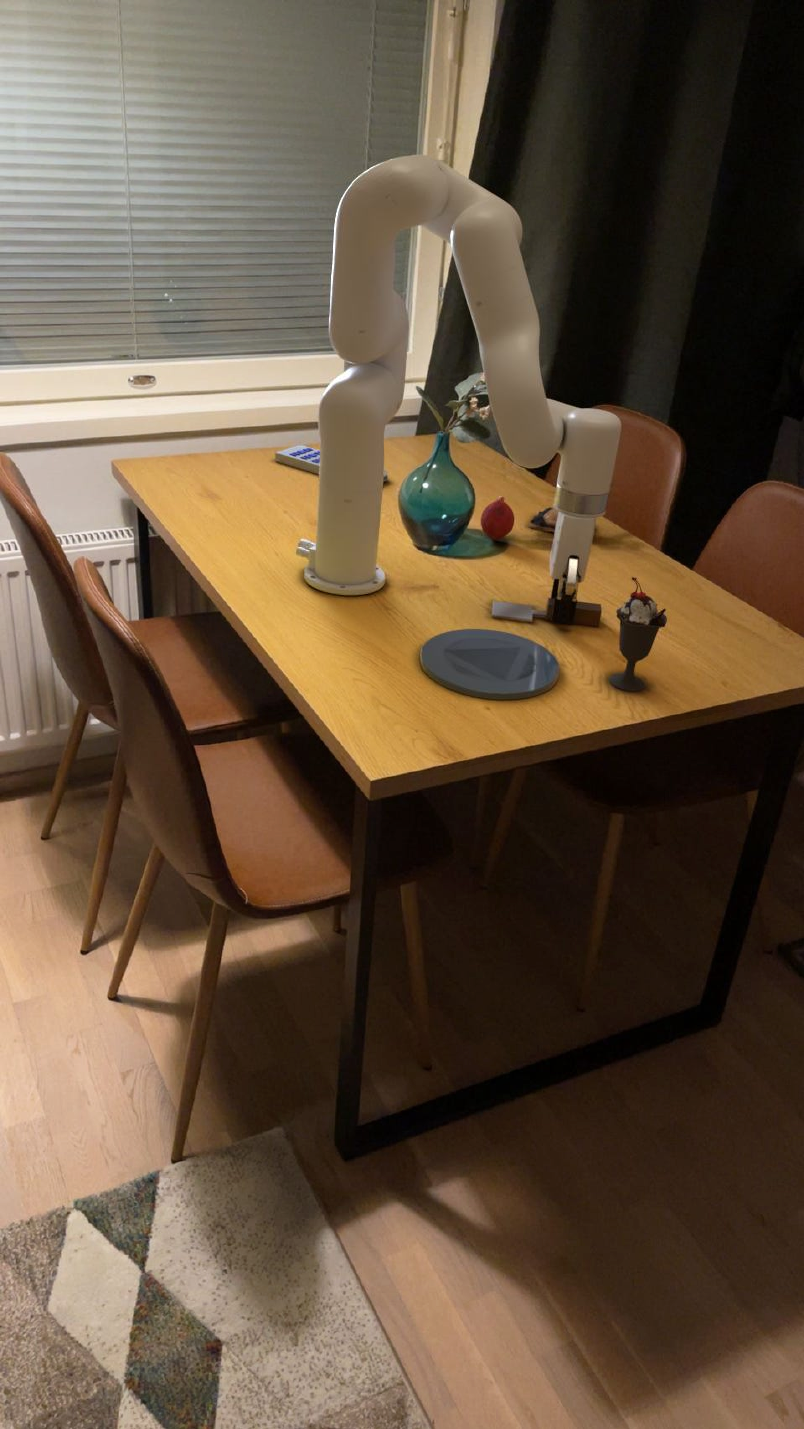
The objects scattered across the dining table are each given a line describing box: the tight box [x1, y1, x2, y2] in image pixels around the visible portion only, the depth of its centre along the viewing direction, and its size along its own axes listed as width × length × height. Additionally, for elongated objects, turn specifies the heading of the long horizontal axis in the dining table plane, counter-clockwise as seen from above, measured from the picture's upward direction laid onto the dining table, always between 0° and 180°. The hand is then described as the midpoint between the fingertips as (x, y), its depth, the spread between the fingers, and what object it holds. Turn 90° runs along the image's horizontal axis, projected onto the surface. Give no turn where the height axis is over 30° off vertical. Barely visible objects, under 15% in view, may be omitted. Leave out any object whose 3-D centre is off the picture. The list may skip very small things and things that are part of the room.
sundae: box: [608, 576, 668, 692], centre depth 149 cm, size 7×7×15 cm
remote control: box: [274, 444, 389, 483], centre depth 220 cm, size 8×23×2 cm, turn 56°
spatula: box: [491, 597, 603, 628], centre depth 168 cm, size 16×5×3 cm, turn 84°
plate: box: [419, 628, 560, 701], centre depth 153 cm, size 19×19×1 cm
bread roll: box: [528, 506, 559, 533], centre depth 203 cm, size 11×8×4 cm
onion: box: [480, 495, 515, 542], centre depth 193 cm, size 6×6×8 cm
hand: (561, 611), depth 168 cm, fingers open, 7 cm apart
